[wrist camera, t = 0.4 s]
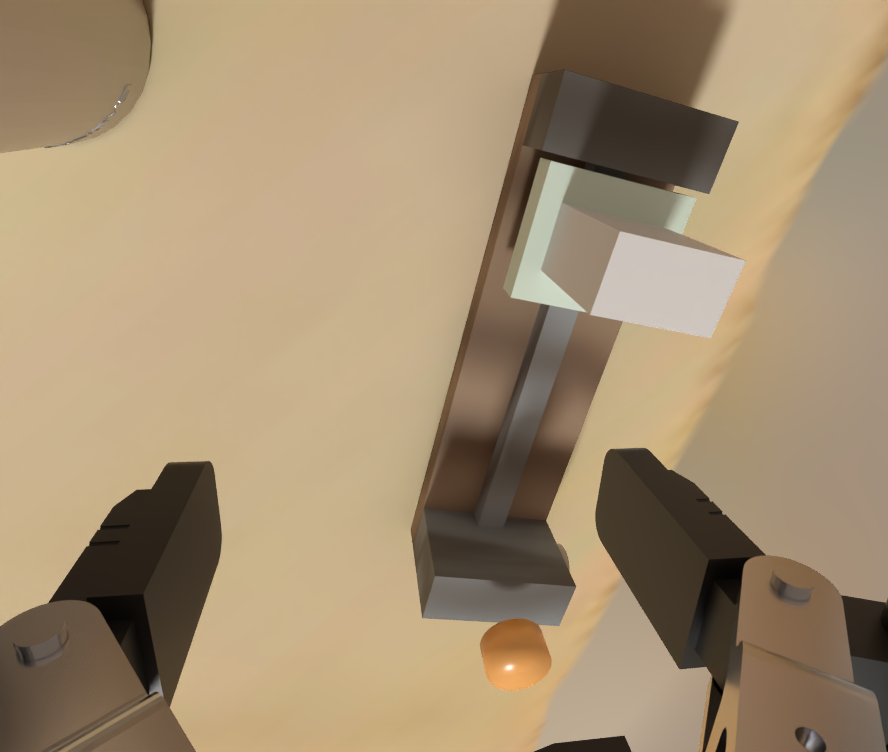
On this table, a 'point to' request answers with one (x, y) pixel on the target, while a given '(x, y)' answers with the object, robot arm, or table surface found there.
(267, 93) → the table surface
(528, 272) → the carriage
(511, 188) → the rail
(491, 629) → the gauge button
